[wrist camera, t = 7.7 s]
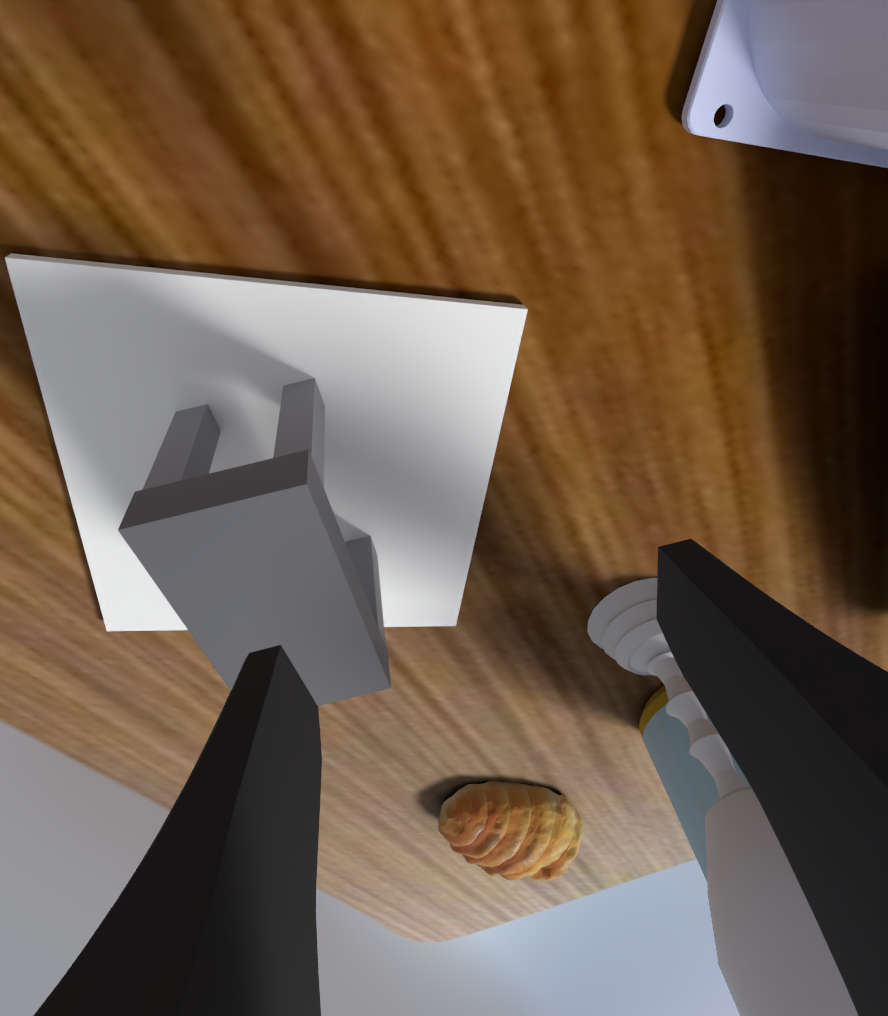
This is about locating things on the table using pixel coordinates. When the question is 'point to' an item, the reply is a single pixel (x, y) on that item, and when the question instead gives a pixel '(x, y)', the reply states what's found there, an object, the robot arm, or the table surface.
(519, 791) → the pastry
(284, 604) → the stool
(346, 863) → the table surface
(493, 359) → the mat
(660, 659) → the chalice
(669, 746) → the bottle
